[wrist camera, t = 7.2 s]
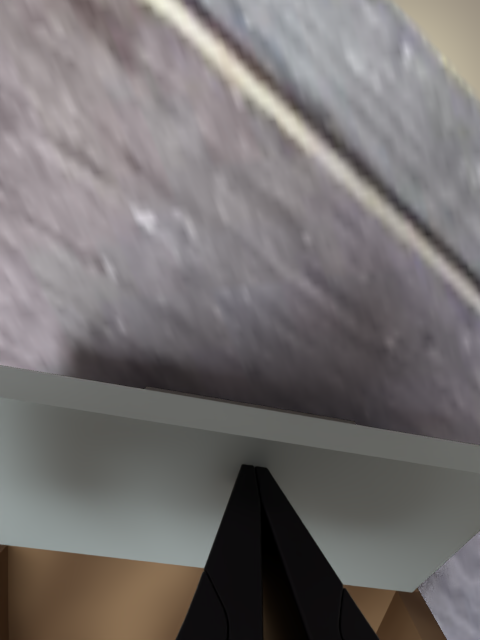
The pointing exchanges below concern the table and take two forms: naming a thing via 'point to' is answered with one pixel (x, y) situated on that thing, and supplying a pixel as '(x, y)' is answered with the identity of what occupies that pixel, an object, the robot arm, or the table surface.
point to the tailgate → (222, 478)
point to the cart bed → (146, 599)
